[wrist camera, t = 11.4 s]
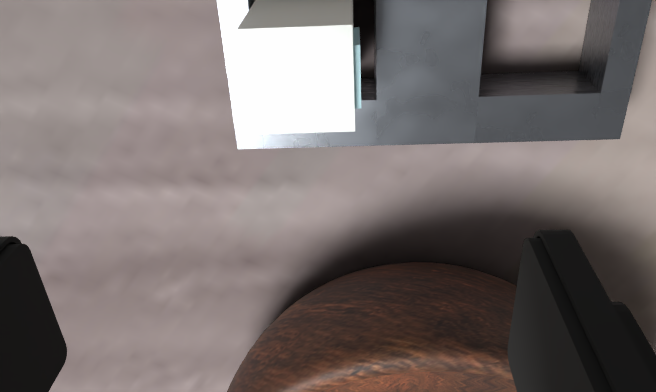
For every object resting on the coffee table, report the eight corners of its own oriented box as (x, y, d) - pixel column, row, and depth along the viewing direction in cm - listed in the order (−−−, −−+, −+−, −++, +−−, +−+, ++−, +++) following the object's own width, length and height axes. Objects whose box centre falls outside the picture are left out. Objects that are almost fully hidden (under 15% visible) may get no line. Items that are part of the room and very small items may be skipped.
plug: (357, -21, 27) (359, 24, 20) (359, 63, 29) (361, 131, 22) (266, -17, 27) (236, 29, 20) (274, 66, 29) (250, 134, 22)
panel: (641, -107, 25) (677, -101, 22) (596, 113, 30) (621, 140, 27) (220, -86, 26) (204, -78, 23) (247, 123, 31) (236, 150, 28)
